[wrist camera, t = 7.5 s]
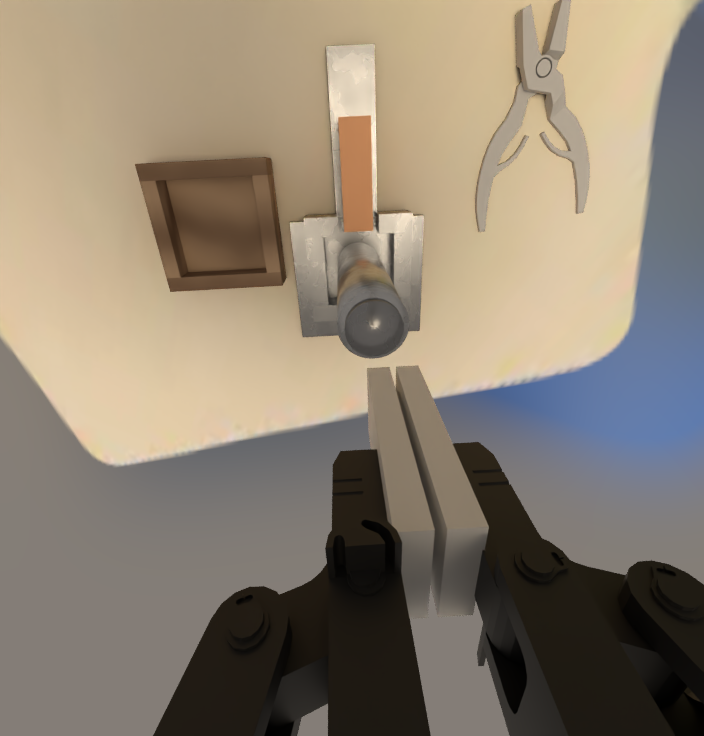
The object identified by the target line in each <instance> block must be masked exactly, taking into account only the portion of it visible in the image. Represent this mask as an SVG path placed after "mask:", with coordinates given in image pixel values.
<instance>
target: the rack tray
mask: <svg viewBox="0 0 704 736" xmlns="http://www.w3.org/2000/svg"><path fill="white" fill-rule="evenodd" d="M135 166H136V170H137V173H138V177H139V180H140V184H141V188H142V191H143V195H144V198H145V202H146V206H147V209H148V213H149V216H150V220H151V224H152V227H153V231H154V234H155V238H156V241H157V245H158V249H159V252H160V256H161V259H162V263H163V267H164V270H165V274H166V277H167V281H168V285H169V288H170V292H174V291H192V290H210V289H228V288H246V287H264V286H282V285H283V283H284V281H285V279H286V272H285V265H284V257H283V249H282V241H281V234H280V226H279V218H278V210H277V202H276V195H275V187H274V179H273V171H272V164H271V159H270V158H266V157H262V158H243V159H223V160H204V161H185V162H165V163H146V164H135Z"/></svg>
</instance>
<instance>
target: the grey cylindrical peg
mask: <svg viewBox="0 0 704 736" xmlns="http://www.w3.org/2000/svg"><path fill="white" fill-rule="evenodd" d="M337 329H338V334H339V337H340V340H341V341H342V343H343V345H344V346H345V347H346V348H347V349H348V350H349V351H350V352H352V353H353V354H355V355H357V356H360V357H364V358H380V357H384V356H387V355H389V354H391V353H392V352H394V351H395V350H397V349H398V348H399V347H400V346H401V345H402V343H403V342H404V340H405V338H406V336H407V334H408V330H409V316H408V313H407V310H406V308H405V306H404V304H403V302H402V300H401V298H400V297H399V295H398V293H397V291H396V289H395V287H394V285H393V283H392V281H391V279H390V277H389V275H388V273H387V271H386V269H385V267H384V266H383V264H382V262H381V260H380V258H379V256H378V254H377V252H376V251H375V250H374V248H372V247H371V246H370V245H368V244H365V243H360V242H358V243H352V244H350V245H348V246H347V247H345V248H344V249H343V250H342V252H341V253H340V255H339V257H338V262H337Z"/></svg>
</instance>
